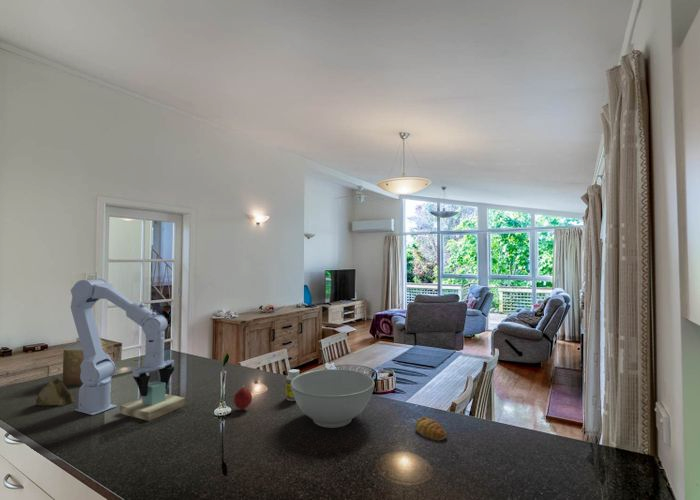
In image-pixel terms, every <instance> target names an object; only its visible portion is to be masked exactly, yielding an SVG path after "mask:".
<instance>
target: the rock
mask: <svg viewBox="0 0 700 500" xmlns="http://www.w3.org/2000/svg"><path fill="white" fill-rule="evenodd" d="M62 382H63V381H61V380H60V379H59V378H58V377H53V378H52V379H51V380H50V381H49V382H47V384H46V385H45V386H43V388H42V389H41V390H40V392H39V393H38V394H37V397H36V399H35V405H36V406H37V405H38V406H50V405H58V406H61V405H62V406H66V405H70V404H73V403H75V400H74V397H73V396H72V394H71V392H70V391H69V389H68V388H67V387H66V385H64V384H63V383H62ZM72 402H73V403H72ZM69 403H70V404H69ZM58 406H57V407H58Z"/></svg>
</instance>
